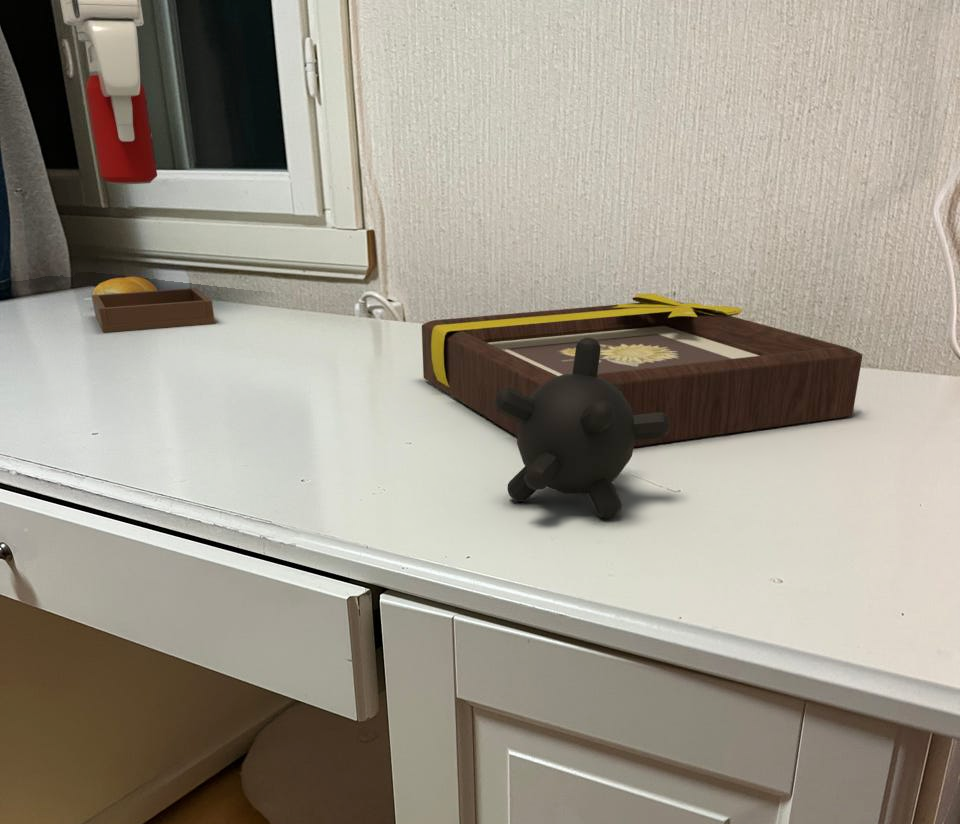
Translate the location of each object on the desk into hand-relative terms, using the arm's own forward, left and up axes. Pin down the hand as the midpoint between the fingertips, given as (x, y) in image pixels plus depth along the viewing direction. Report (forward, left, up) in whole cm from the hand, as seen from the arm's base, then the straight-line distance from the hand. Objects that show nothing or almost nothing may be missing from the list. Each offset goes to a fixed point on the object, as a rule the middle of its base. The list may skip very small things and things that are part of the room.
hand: (123, 141), depth 120 cm
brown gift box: (+34, -64, -21) cm, 76 cm away
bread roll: (-2, +12, -21) cm, 24 cm away
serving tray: (0, -2, -21) cm, 21 cm away
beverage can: (0, 0, -5) cm, 5 cm away
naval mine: (+17, -87, -21) cm, 91 cm away
